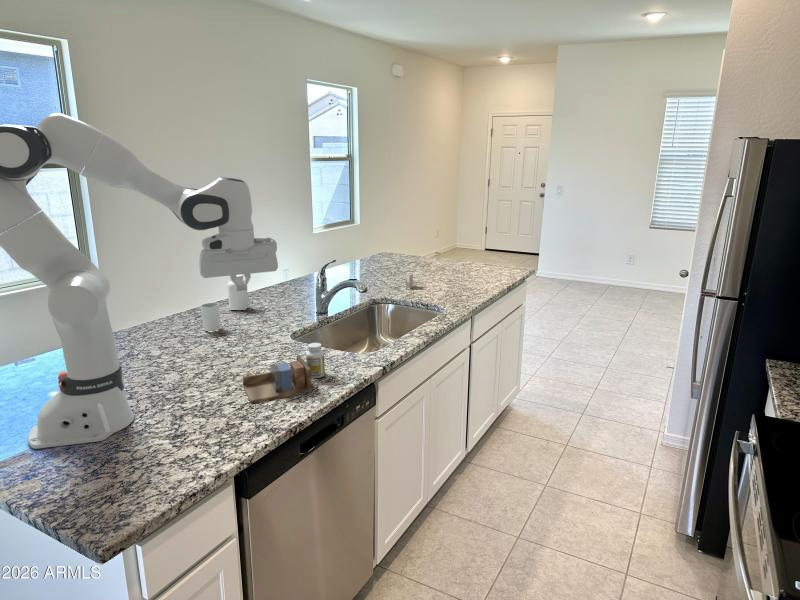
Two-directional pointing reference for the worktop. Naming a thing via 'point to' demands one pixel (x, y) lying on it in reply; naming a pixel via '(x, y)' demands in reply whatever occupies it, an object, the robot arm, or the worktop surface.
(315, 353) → the supplement bottle
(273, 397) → the rack
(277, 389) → the bookend
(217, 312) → the drinking glass
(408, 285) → the architectural model
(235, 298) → the pill bottle
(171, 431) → the worktop surface
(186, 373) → the worktop surface
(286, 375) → the blue block
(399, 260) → the worktop surface
